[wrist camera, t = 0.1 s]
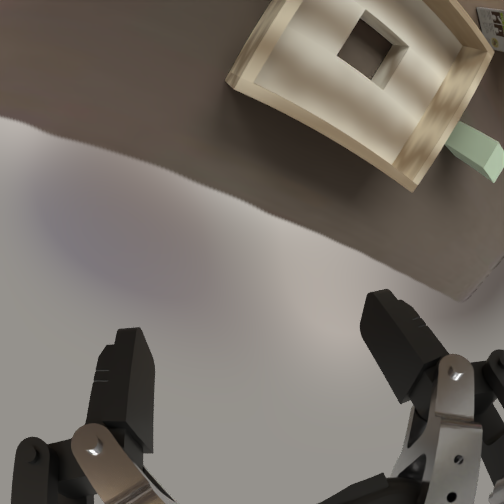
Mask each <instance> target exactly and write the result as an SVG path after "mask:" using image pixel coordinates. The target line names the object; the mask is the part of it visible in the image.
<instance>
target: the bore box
mask: <svg viewBox="0 0 504 504" xmlns="http://www.w3.org/2000/svg"><path fill="white" fill-rule="evenodd" d="M360 18H361V19H362V20H363V21H365V22H366V23H367V24H368V25H370V26H371V27H372V28H373V29H375V30H376V31H377V32H378V33H380V34H381V35H382V36H383V37H384V38H386V39H387V40H388V41H389V42H390V43H391V44H393V45H392V47H391V48H390V50H389V52H388V53H387V55H386V57H385V58H384V60H383V62H382V63H381V65H380V67H379V68H378V70H377V71H376V73H375V75H374V76H373V78H372V80H369V79H368V78H367V77H366V76H364V75H363V74H362V73H360V72H359V71H357V70H356V69H355V68H353V67H352V66H351V65H349V64H348V63H346V62H345V61H343V60H342V59H341V58H339V57H338V56H337V54H338V52H339V51H340V49H341V48H342V46H343V44H344V43H345V41H346V40H347V38H348V36H349V35H350V33H351V32H352V30H353V28H354V27H355V25H356V24H357V22H358V20H359V19H360ZM494 53H495V52H494V50H493V49H492V47H491V46H490V44H489V43H488V41H487V40H486V38H485V37H484V35H483V34H482V32H481V31H480V30H479V28H478V27H477V26H476V24H475V23H474V21H473V20H472V19H471V17H470V16H469V15H468V14H467V12H466V11H465V10H464V9H463V7H462V6H461V5H460V4H459V2H458V1H457V0H272V1H271V2H270V4H269V6H268V7H267V9H266V10H265V12H264V13H263V15H262V17H261V18H260V20H259V21H258V23H257V25H256V26H255V28H254V30H253V31H252V33H251V35H250V36H249V38H248V40H247V41H246V43H245V45H244V47H243V48H242V50H241V52H240V54H239V55H238V57H237V59H236V61H235V63H234V64H233V66H232V68H231V70H230V72H229V74H228V76H227V77H226V79H225V81H226V82H227V83H228V84H229V85H230V86H231V87H232V88H233V89H234V90H236V91H239V92H241V93H243V94H245V95H248V96H250V97H252V98H254V99H256V100H258V101H260V102H263V103H265V104H267V105H269V106H271V107H273V108H275V109H277V110H279V111H281V112H283V113H285V114H287V115H289V116H290V117H292V118H294V119H296V120H298V121H300V122H302V123H304V124H305V125H307V126H309V127H311V128H313V129H314V130H316V131H318V132H320V133H322V134H323V135H325V136H327V137H328V138H330V139H332V140H334V141H335V142H337V143H339V144H340V145H342V146H344V147H345V148H347V149H348V150H350V151H352V152H353V153H355V154H356V155H358V156H360V157H361V158H363V159H364V160H366V161H367V162H369V163H370V164H372V165H373V166H375V167H376V168H378V169H379V170H381V171H382V172H384V173H385V174H387V175H388V176H390V177H391V178H392V179H394V180H395V181H397V182H398V183H399V184H401V185H402V186H404V187H405V188H406V189H408V190H409V191H410V192H412V193H413V191H414V190H415V189H416V187H417V186H418V184H419V183H420V181H421V180H422V178H423V177H424V175H425V174H426V172H427V171H428V169H429V168H430V166H431V165H432V163H433V162H434V160H435V158H436V157H437V155H438V154H439V152H440V151H441V149H442V147H443V146H444V144H445V143H446V141H447V139H448V138H449V136H450V134H451V133H452V131H453V129H454V128H455V126H456V124H457V123H458V121H459V119H460V118H461V116H462V114H463V112H464V111H465V109H466V107H467V105H468V103H469V102H470V100H471V98H472V96H473V94H474V92H475V91H476V89H477V87H478V85H479V83H480V81H481V79H482V77H483V75H484V73H485V71H486V69H487V67H488V65H489V63H490V61H491V59H492V57H493V55H494Z"/></svg>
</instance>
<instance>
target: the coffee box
mask: <svg viewBox="0 0 504 504" xmlns="http://www.w3.org/2000/svg"><path fill="white" fill-rule="evenodd" d="M477 12H478V16H479V21H480V25H481V30H482V34H483V35H484V37H485V38H486V40H487V41H488V43H489V44H490V46H491V47H492V49H494V50H497V51H501V52H504V10H499V9H491V8H482V7H477Z"/></svg>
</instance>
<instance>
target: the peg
mask: <svg viewBox="0 0 504 504" xmlns="http://www.w3.org/2000/svg"><path fill="white" fill-rule="evenodd" d="M444 145H445V146H446V147H447V148H448V149H449V150H450V151H451V152H452V153H453V154H454V156H456V157H457V158H459V159H460V160H462V161H463V162H465V163H466V164H468V165H469V166H471V167H472V168H474V169H475V170H476V171H478V172H479V173H481V174H482V175H483V176H485V177H486V178H488V179H489V180H490V181H492V182H493V183H494V182H495V181H496V179H497V178H498V176H499V174H500V173H501V171H502V169H503V168H504V150H503V149H502V147H501V145H500V144H499V142H498V141H496V140H494V139H492V138H491V137H489V136H487V135H485V134H484V133H482V132H480V131H478V130H476V129H474V128H472V127H470V126H468V125H467V124H465V123H463V122H461V121H458V123H457V124H456V126H455V128H454V129H453V131H452V133H451V134H450V136H449V138H448V139H447V141H446V143H445V144H444Z"/></svg>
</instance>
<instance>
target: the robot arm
mask: <svg viewBox="0 0 504 504" xmlns="http://www.w3.org/2000/svg"><path fill="white" fill-rule="evenodd" d="M360 332H361V335H362V338H363V340H364V341H365V343H366V345H367V347H368V348H369V350H370V352H371V353H372V355H373V357H374V358H375V360H376V362H377V364H378V365H379V367H380V369H381V371H382V372H383V374H384V375H385V378H386V380H387V381H388V383H389V385H390V387H391V388H392V390H393V392H394V394H395V396H396V397H397V399H398V401H399V403H400V404H402V403H404V402H407V401H409V400H411V401H412V403H413V406H412V408H411V412H410V417H409V422H408V427H407V431H406V436H405V440H404V445H403V448H402V452H401V454H400V456H399V458H398V460H397V462H396V464H395V466H394V468H393V471H392V474H391V477H390V478H386V477H385V475H384V473H381V474H379V475H376V476H374V477H371V478H368V479H366V480H363V481H360V482H358V483H355V484H352V485H350V486H348V487H347V488H345V489H344V490H342V491H340V492H339V493H337V494H335V495H333V496H332V497H330V498H328V499H326V500H324V501H323V502H321V503H318V504H474V499H475V494H476V488H477V482H478V476H479V468H480V459H481V458H482V460H483V462H484V464H485V466H486V469H487V471H488V473H489V475H490V478H491V480H492V482H493V485H494V490H493V492H492V493H491V494H490V495H489V502H490V504H504V423H503V421H502V419H501V417H500V415H499V414H498V412H497V410H496V408H495V407H494V405H493V402H494V401H495V400H496V399H497V398H498V400H499V402H500V403H501V405H502V407H503V408H504V350H495V351H493V352H492V353H491V355H490V356H489V358H488V359H487V361H480V362H473V363H470V362H469V361H468V360H467V359H466V358H464V357H462V356H460V355H457V354H449V353H448V352H447V351H446V349H445V348H444V347H443V345H442V344H441V343H440V341H439V340H438V339H437V338H436V336H435V335H434V334H433V332H432V331H431V330H430V328H429V327H428V326H426V323H425V322H424V321H423V320H422V318H420V316H419V315H418V313H417V312H416V311H415V310H414V309H413V307H411V306H410V305H408V304H407V303H405V302H404V301H402V300H397V298H396V297H395V296H394V295H393V294H392V292H391V291H390V290H388V289H384V290H379V291H375V292H370V293H368V294H367V297H366V301H365V305H364V309H363V313H362V318H361V322H360ZM154 382H155V365H154V360H153V357H152V354H151V352H150V349H149V347H148V345H147V342H146V340H145V337H144V335H143V332H142V330H141V328H139V327H137V328H125V329H118V331H117V334H116V339H115V344H114V345H106V347H105V348H104V350H103V351H102V353H101V354H100V356H99V358H98V362H97V367H96V372H95V376H94V383H93V386H92V391H91V396H90V402H89V408H88V413H87V419H86V423H85V425H84V426H82V427H80V428H79V429H78V430H77V431H76V432H75V433H74V435H73V437H72V438H71V439H69V440H65V441H60V442H57V443H52V444H46V443H45V442H44V441H42V440H41V439H39V438H37V437H28V438H26V439H24V440H23V441H22V442H21V443H20V444H19V446H18V448H17V450H16V455H15V463H14V472H13V481H12V494H11V504H94V494H98V495H99V496H100V498H101V499H102V501H103V502H104V503H105V504H179V503H178V502H177V501H176V500H175V499H174V498H173V497H172V496H171V495H170V494H169V493H168V492H167V491H166V490H165V489H164V488H163V487H162V485H160V483H159V482H158V481H157V480H156V479H155V478H154V477H153V475H152V474H151V473H150V472H149V471H148V470H147V469H146V467H145V466H144V465H143V453H153V411H154V409H153V408H154Z"/></svg>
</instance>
